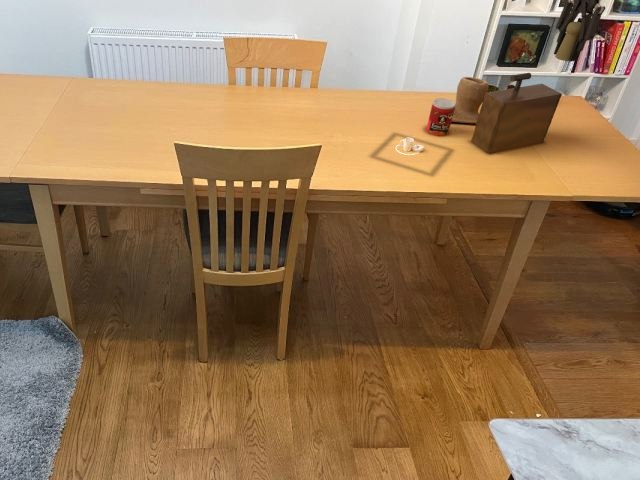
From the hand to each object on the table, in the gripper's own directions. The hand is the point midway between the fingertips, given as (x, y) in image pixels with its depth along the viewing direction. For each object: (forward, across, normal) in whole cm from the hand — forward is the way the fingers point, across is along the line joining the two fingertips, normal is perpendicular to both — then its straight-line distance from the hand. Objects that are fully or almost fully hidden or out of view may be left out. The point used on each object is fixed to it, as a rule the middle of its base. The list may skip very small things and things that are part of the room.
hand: (565, 57), depth 192 cm
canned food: (+27, +12, +35) cm, 45 cm away
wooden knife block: (+15, -8, +17) cm, 24 cm away
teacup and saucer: (+27, 0, +53) cm, 59 cm away
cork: (0, 0, 0) cm, 0 cm away
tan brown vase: (+27, +18, +20) cm, 38 cm away
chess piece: (+27, +19, -1) cm, 33 cm away
